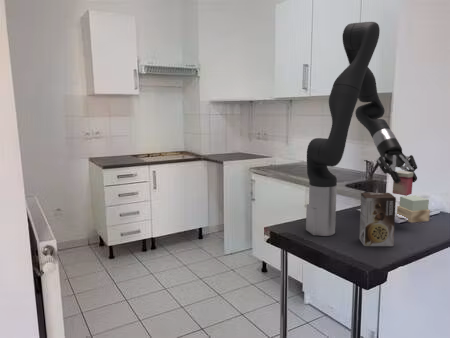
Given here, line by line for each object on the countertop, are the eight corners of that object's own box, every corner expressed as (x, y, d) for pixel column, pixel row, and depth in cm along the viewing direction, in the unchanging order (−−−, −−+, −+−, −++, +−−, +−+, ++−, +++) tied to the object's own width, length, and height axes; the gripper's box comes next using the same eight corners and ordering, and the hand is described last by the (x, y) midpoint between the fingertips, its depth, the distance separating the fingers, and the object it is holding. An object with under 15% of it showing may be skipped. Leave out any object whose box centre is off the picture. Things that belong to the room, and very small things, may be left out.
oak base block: (410, 223, 135) (411, 211, 134) (396, 217, 142) (397, 206, 142) (429, 221, 136) (429, 210, 136) (414, 215, 144) (414, 204, 143)
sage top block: (412, 211, 135) (413, 200, 134) (399, 206, 141) (400, 196, 141) (427, 209, 136) (428, 199, 136) (414, 205, 143) (415, 195, 142)
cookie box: (386, 239, 118) (389, 192, 115) (393, 247, 112) (397, 197, 109) (358, 239, 119) (360, 192, 116) (364, 246, 113) (366, 197, 110)
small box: (391, 193, 126) (393, 171, 124) (397, 191, 128) (399, 170, 127) (406, 196, 122) (408, 173, 121) (412, 194, 125) (413, 172, 123)
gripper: (374, 137, 128) (393, 176, 118) (409, 136, 131) (431, 174, 121) (364, 150, 134) (382, 188, 124) (398, 149, 137) (418, 186, 127)
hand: (406, 181), depth 123 cm, fingers closed on small box, 5 cm apart
